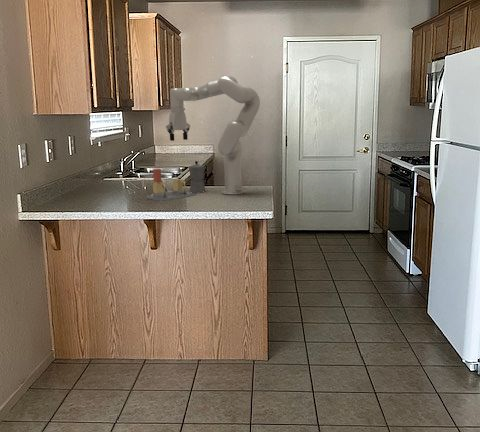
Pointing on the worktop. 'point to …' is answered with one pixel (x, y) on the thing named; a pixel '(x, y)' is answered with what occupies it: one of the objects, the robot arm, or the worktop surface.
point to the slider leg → (158, 182)
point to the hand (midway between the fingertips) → (178, 140)
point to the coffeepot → (197, 178)
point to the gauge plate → (178, 195)
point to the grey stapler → (165, 186)
